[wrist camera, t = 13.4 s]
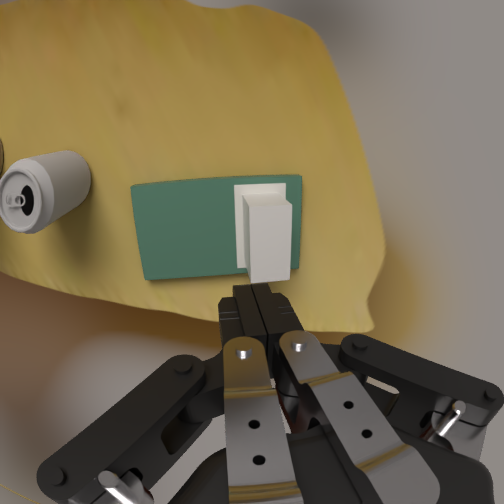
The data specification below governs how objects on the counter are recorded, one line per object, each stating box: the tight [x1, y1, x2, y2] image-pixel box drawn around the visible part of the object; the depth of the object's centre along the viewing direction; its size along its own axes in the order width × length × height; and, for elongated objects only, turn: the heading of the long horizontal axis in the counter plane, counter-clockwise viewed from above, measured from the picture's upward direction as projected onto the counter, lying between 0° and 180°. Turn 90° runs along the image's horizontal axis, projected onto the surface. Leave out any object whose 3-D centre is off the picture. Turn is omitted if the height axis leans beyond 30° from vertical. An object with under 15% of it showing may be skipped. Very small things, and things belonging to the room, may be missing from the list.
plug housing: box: [242, 193, 292, 283], centre depth 32 cm, size 8×4×6 cm, turn 1°
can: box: [0, 150, 91, 234], centre depth 24 cm, size 8×8×12 cm
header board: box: [130, 175, 302, 280], centre depth 33 cm, size 20×12×4 cm, turn 91°
